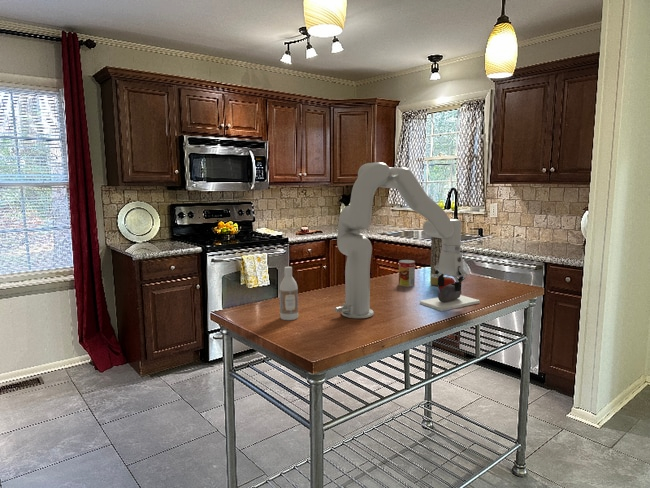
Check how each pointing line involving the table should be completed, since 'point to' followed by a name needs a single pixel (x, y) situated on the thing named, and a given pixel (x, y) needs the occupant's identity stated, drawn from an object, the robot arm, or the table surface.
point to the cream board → (449, 303)
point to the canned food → (406, 273)
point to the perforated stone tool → (448, 293)
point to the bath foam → (288, 296)
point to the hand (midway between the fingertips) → (449, 288)
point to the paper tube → (435, 258)
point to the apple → (447, 282)
